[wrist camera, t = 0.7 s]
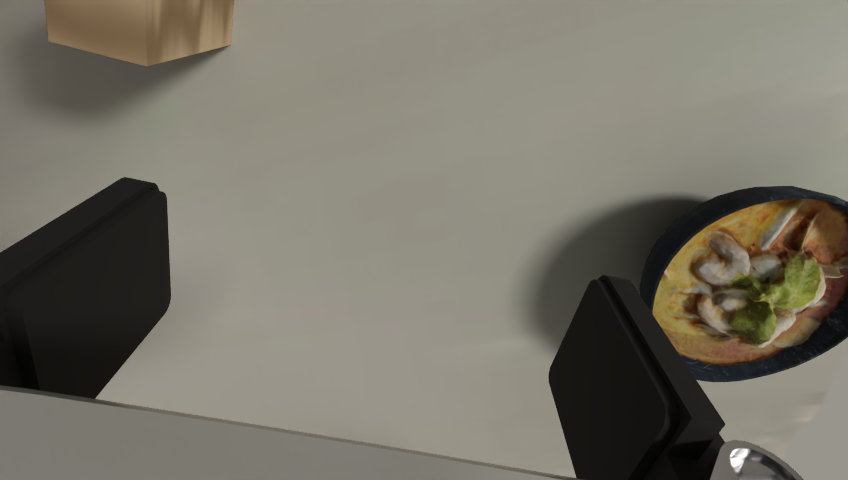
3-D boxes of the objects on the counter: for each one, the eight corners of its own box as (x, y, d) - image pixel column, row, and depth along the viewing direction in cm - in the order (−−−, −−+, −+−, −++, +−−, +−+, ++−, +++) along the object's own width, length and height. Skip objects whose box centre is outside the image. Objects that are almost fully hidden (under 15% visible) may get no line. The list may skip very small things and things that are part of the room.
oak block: (163, -49, 33) (37, -69, 23) (235, -29, 34) (145, -39, 23) (163, 26, 35) (48, 41, 25) (231, 45, 36) (146, 66, 25)
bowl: (578, 228, 43) (616, 289, 34) (770, 115, 38) (875, 152, 29) (655, 348, 49) (705, 426, 40) (829, 264, 44) (930, 332, 35)
